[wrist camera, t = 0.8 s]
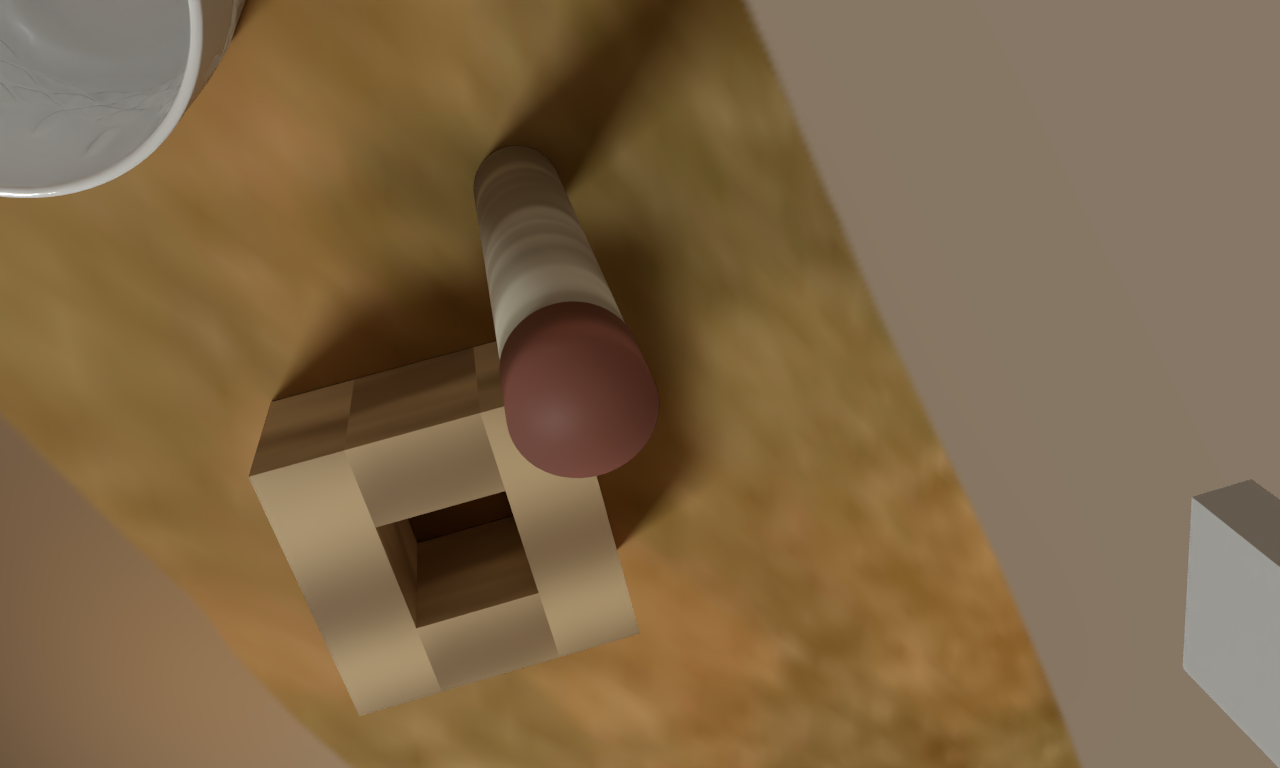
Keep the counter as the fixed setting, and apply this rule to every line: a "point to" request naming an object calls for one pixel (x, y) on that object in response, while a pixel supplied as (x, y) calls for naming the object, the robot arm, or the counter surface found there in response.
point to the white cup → (99, 84)
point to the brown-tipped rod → (557, 326)
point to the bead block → (441, 567)
